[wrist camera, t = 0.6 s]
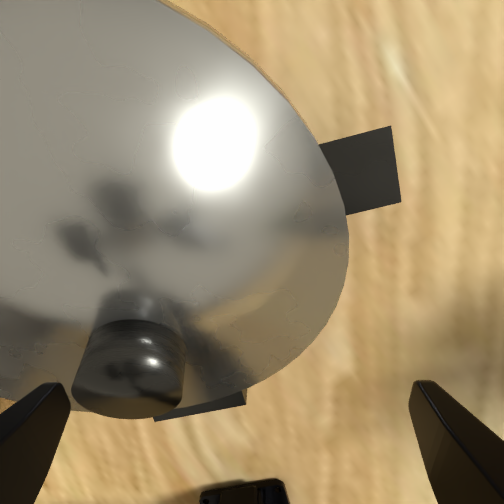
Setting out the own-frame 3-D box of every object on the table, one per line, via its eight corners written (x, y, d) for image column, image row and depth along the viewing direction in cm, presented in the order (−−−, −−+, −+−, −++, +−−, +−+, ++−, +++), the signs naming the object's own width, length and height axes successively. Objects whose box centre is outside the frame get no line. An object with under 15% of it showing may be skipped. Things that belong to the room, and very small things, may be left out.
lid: (350, 351, 16) (372, 414, 14) (41, 412, 18) (14, 478, 15) (301, -188, 6) (358, -304, 3) (-448, 86, 7) (-764, 139, 5)
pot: (389, 322, 21) (426, 370, 16) (55, 390, 23) (1, 450, 18) (338, 1, 16) (368, -65, 12) (-71, 125, 19) (-186, 114, 14)
